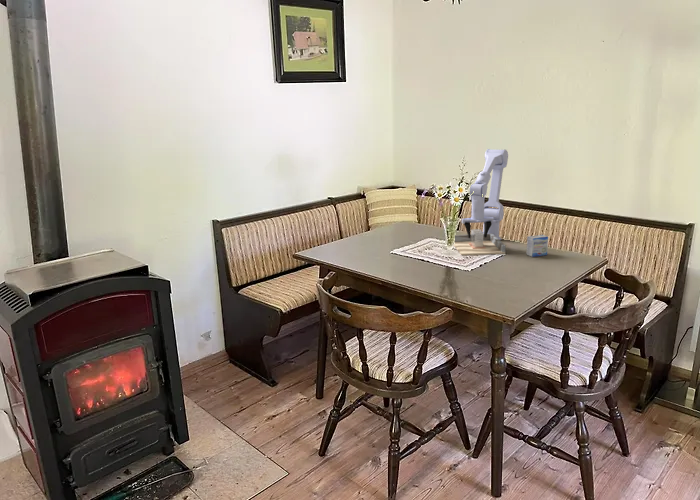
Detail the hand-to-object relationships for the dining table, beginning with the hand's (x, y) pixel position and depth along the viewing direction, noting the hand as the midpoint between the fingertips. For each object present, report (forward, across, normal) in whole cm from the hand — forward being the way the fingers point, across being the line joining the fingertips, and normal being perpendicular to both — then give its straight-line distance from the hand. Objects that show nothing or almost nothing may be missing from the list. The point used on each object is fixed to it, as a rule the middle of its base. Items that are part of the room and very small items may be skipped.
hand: (477, 237), depth 256 cm
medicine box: (+5, +23, -16) cm, 28 cm away
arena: (+5, 0, -1) cm, 5 cm away
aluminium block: (+4, 0, 0) cm, 4 cm away
